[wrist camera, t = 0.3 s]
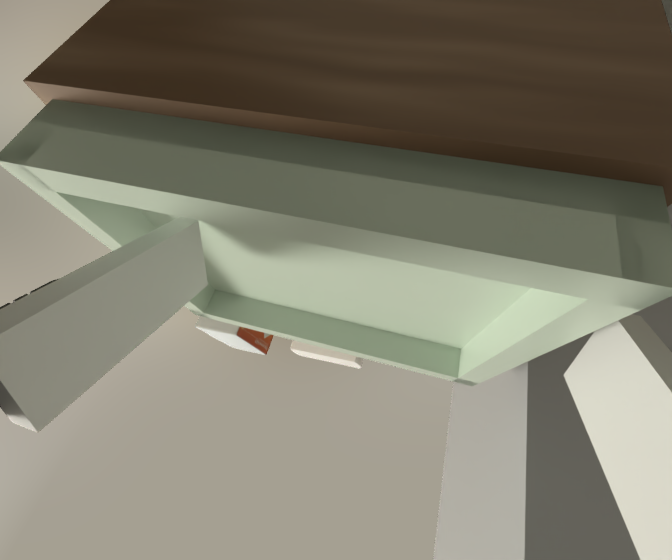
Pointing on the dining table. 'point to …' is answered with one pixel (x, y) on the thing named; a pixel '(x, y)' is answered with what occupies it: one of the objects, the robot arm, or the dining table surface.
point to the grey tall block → (530, 467)
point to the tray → (362, 235)
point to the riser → (396, 75)
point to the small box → (236, 335)
